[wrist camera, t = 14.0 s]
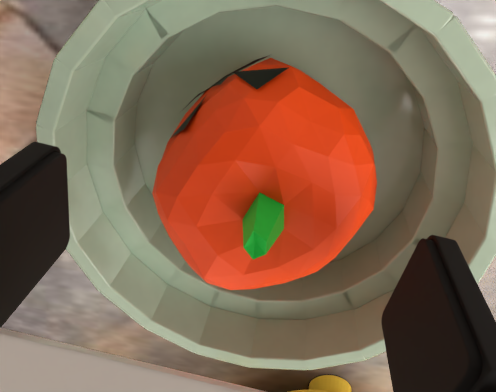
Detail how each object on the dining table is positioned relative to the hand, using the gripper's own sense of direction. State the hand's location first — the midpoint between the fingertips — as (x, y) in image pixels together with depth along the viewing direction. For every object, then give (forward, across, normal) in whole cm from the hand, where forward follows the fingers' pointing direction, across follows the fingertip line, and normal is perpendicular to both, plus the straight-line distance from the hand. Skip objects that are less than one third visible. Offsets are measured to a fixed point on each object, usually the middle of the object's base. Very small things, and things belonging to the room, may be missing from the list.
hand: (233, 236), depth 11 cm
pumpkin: (+6, 0, 0) cm, 6 cm away
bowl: (+7, -1, 0) cm, 7 cm away
